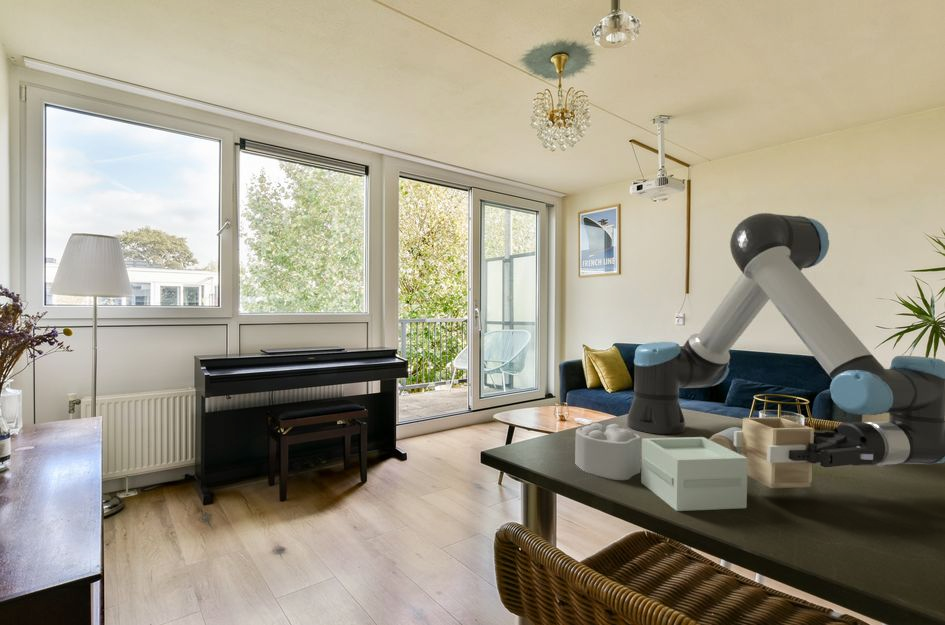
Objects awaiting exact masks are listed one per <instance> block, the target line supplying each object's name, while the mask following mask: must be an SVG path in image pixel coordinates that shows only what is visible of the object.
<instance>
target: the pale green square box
mask: <svg viewBox="0 0 945 625" xmlns="http://www.w3.org/2000/svg"><path fill="white" fill-rule="evenodd" d="M747 465H748V458H747V457H744V456H742V455H740V454H738V453H736V452H734V451H732V450H730V449H728V448H725V447H723V446H721V445H719V444H717V443H715V442H713V441H711V440H709V438H706V437H704V436H695V437H694V436H693V437H692V436H691V437H689V436H687V437H650V438H648V437H647V438H642V437H641V466H640V473H641V474H640V475H641V476H640V478H641V479H640V480H641V481H640V483H641V484H642V485H643V486H645V487H646V488H647V489H649V491H651V492H653V494H655V495H656V496H657V497H659V499H661V500H662V501H664V503H666V504H667V505H669V506H670V508H672V509H673V510H674V511H676V512H683V511H684V512H685V511H710V510H730V509H731V510H733V509H747V504H748V503H747V502H748V501H747V498H748V494H747V493H748V475H747Z"/></svg>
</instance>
